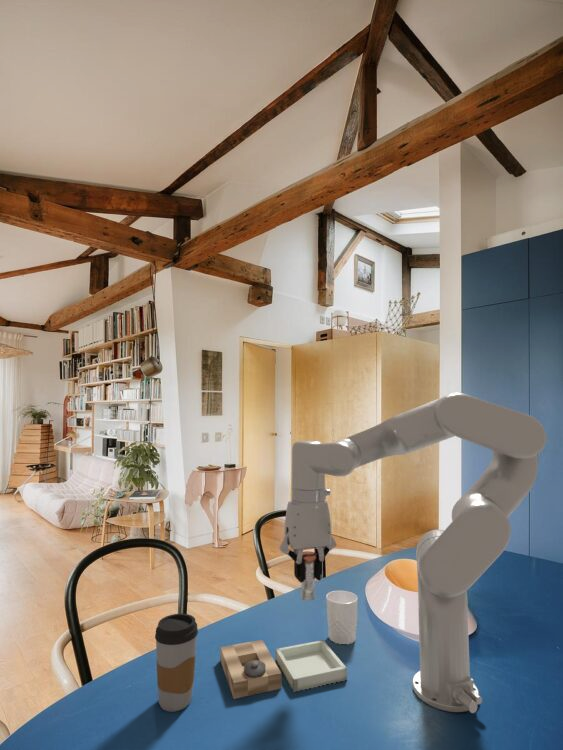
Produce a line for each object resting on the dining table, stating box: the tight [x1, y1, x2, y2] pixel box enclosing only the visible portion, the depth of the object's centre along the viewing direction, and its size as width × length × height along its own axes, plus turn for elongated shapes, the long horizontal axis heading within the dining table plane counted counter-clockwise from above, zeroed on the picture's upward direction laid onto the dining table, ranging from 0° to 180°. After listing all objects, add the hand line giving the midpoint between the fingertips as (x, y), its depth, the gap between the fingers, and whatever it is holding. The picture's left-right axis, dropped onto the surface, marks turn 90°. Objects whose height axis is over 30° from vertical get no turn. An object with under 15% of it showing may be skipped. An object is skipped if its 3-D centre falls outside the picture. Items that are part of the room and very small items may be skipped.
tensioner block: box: [219, 639, 282, 700], centre depth 95 cm, size 14×10×5 cm
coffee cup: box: [154, 613, 199, 712], centre depth 86 cm, size 8×8×15 cm
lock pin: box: [300, 550, 317, 602], centre depth 98 cm, size 4×4×10 cm
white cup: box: [325, 590, 358, 645], centre depth 110 cm, size 8×8×10 cm
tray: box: [275, 639, 348, 693], centre depth 96 cm, size 12×12×2 cm
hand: (308, 578), depth 98 cm, fingers closed on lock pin, 3 cm apart
